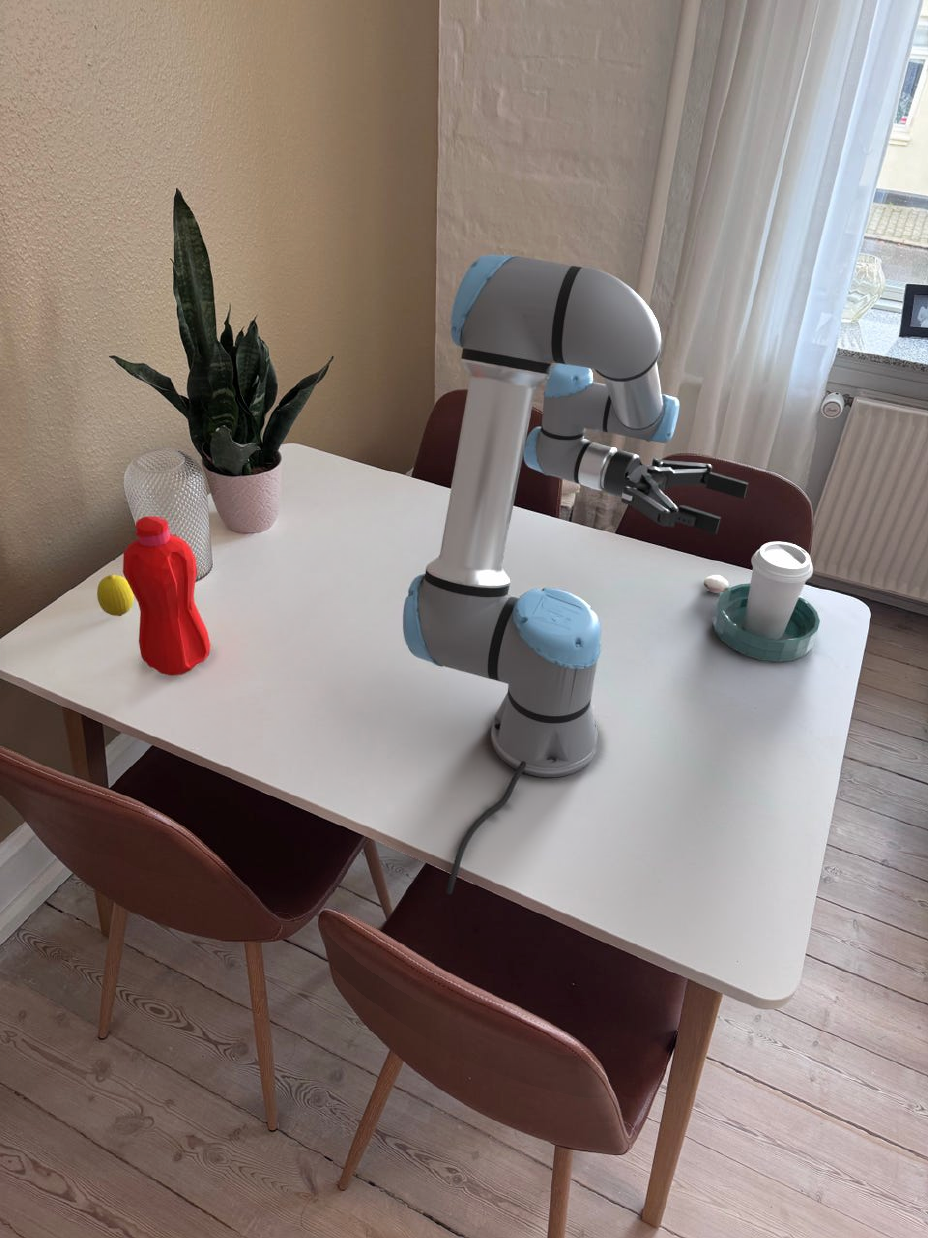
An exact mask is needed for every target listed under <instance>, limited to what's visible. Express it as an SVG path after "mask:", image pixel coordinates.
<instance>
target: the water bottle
mask: <svg viewBox="0 0 928 1238" xmlns="http://www.w3.org/2000/svg"><path fill="white" fill-rule="evenodd" d="M135 529H136V530H135V531H136V533H135V534H134V536H136V537H137V539H135V540H133V541H132V542H131V543H129V544H128V545H127V547H126V548H125V550H124V551H123V556H122V557H123V558H122V559H123V560H122V573H123V577H124V578H125V579H126V580H127V582H128V584H129V586H130V588H131V590H132V592H133V595H134V598H135V600H136V601H137V604H138V607H139V612H140V615H139V631H138V645H139V646H138V647H139V652H140V656H141V658H142V660H143V661H144V662H145V664H146V665H147V666H148V667H149V668H151V669H154V670H156V671H157V672H158V673H159V674H162V675H166V676H170V677H174V676H179V675H184V674H186V673H188V672H190V671H192V670H193V669H194V668H195V667H196V666H198V665H199V664H201V663H204V661H205V660H206V659H207V658H208V657H209V656H210V651H211V642H210V638H209V633H208V631H207V627H206V625H205V622H204V621H203V619H202V616H201V614H200V612H199V609H198V607H197V604H196V603H195V587H196V579H197V576H198V568H197V559H196V556H195V554H194V552H193V550H192V548H191V546H190V545H189V544H188V543H187V541H186V540H184V539H182V538H181V537H180V536H179V535H177V534H176V533H172V532H171V530H170V527H169V522H168V521H167V519H165V518H163V517H160V516H154V515H153V516H152V515H148V516H147V515H146V516H143V517H142V518H139V519H138V520H137V521H136V522H135Z"/></svg>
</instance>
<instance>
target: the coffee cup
mask: <svg viewBox="0 0 928 1238" xmlns="http://www.w3.org/2000/svg"><path fill="white" fill-rule="evenodd" d="M750 563H751V565H752V572H751V579H750V583H751V584H750V590H749V596H748V602H747V608H746V614H745V620H744V629H745V631H746V632H748V633H751V634H753V635H756V636H760V637H763V638H767V639H775V640H778V639H780V638H781V637H782V635H783V633H784V631H785V628H786V626H787V624H788V621H789V619H790V617H791V614H792V612H793V610H794V607H795V605H796V603H797V601H798V598H799V596H800V597H801V593H802V591H803V589H804V586H805V585H806V582H807V581H808V580H809V579H810V578H812V576H813V572H814V568H813V563H812V560H811V555H810V554H809V553H808V552H807V551H806V550H805V549H804V548H802V547H800V546H798V545H796V544H793V543H791V542H786V541H769V542H767V543H764V544H763V545H761V546H760V548H759V549H757V550H756V551H755V553H754V554H753V555H752V556H751V562H750Z"/></svg>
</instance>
